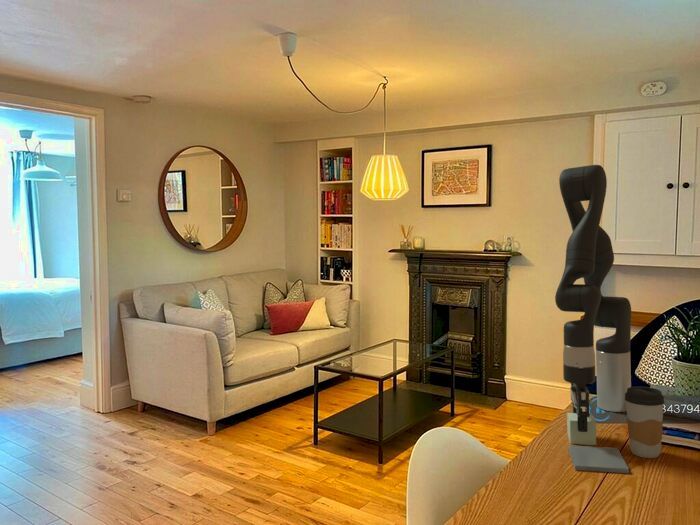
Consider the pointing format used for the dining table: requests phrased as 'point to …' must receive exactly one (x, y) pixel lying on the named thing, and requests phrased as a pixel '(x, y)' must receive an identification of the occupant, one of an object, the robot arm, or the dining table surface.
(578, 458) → the slate board
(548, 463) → the dining table surface
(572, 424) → the sage block
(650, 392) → the coffee cup
